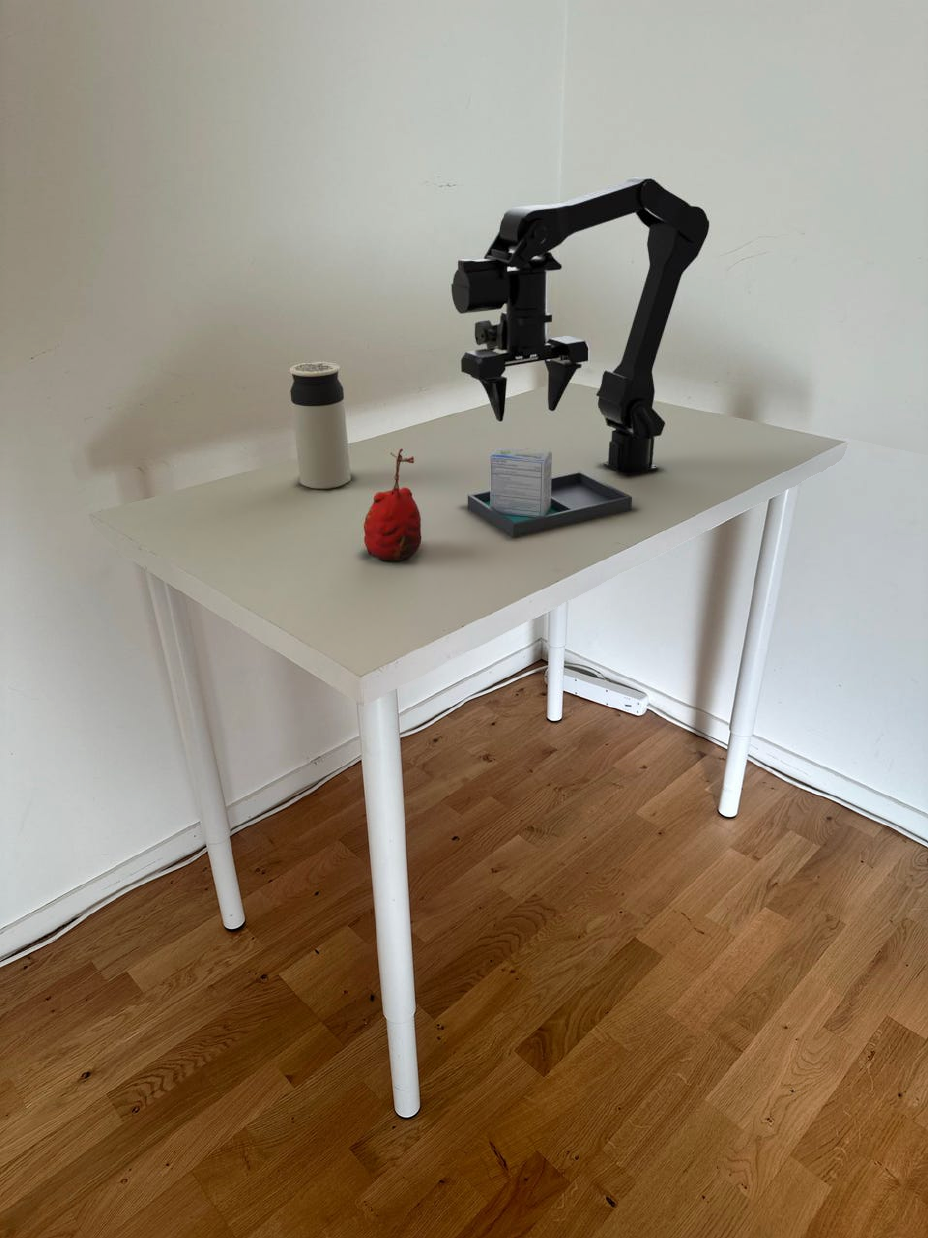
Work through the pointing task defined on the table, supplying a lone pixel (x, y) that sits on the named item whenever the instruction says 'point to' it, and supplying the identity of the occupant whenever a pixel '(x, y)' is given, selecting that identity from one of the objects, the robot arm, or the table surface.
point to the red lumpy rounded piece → (393, 522)
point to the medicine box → (521, 481)
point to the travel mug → (320, 425)
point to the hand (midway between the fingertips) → (525, 415)
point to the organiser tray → (558, 505)
